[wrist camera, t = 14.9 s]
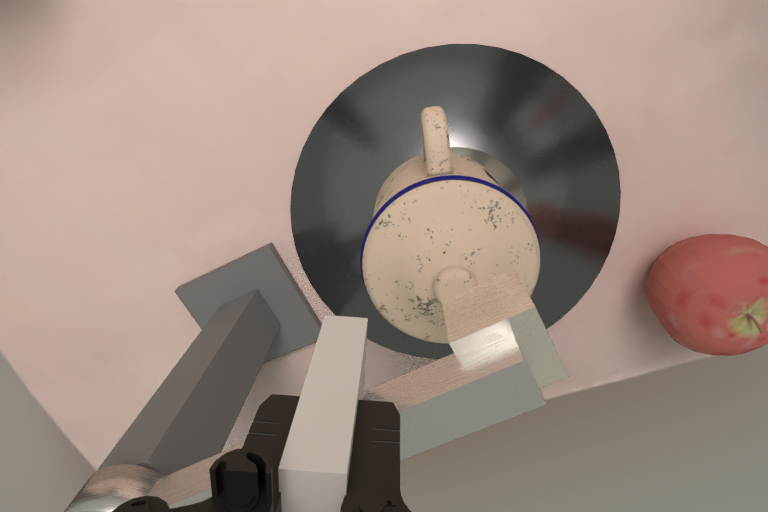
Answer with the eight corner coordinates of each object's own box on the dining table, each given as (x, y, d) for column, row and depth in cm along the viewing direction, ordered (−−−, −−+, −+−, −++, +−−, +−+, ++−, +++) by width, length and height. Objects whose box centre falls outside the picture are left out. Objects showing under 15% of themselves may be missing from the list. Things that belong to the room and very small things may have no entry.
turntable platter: (556, -30, 27) (557, -30, 26) (656, 290, 34) (658, 291, 33) (228, 145, 31) (227, 145, 31) (379, 395, 38) (379, 397, 38)
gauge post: (271, 242, 33) (159, 396, 18) (326, 331, 36) (270, 532, 21) (179, 286, 35) (4, 461, 20) (238, 368, 38) (124, 581, 22)
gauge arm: (156, 506, 23) (98, 611, 19) (96, 443, 22) (17, 541, 17) (550, 343, 19) (595, 429, 15) (506, 253, 18) (542, 317, 13)
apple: (748, 288, 33) (847, 353, 26) (644, 329, 35) (709, 400, 28) (724, 197, 31) (824, 239, 24) (613, 245, 33) (675, 298, 25)
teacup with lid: (509, 269, 33) (560, 368, 22) (380, 282, 34) (369, 385, 23) (502, 89, 29) (561, 104, 18) (354, 109, 30) (326, 136, 19)
